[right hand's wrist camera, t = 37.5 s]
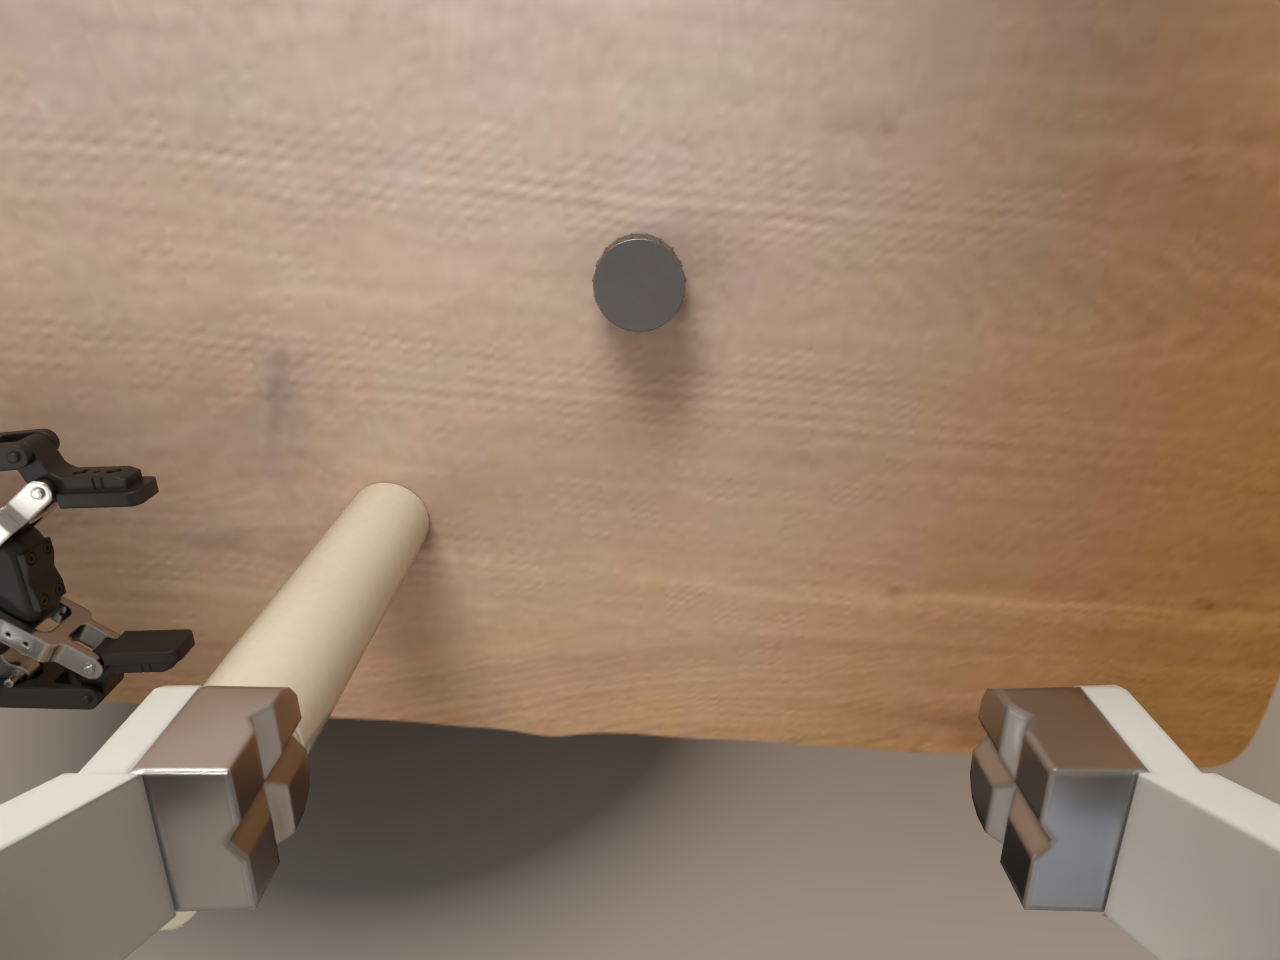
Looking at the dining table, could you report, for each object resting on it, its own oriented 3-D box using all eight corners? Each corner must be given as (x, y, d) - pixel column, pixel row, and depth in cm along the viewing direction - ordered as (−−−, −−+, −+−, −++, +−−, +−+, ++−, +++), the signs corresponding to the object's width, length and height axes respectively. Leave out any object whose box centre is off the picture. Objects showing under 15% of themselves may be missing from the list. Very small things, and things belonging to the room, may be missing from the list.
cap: (626, 340, 46) (625, 350, 44) (576, 265, 44) (573, 272, 42) (700, 292, 45) (703, 300, 43) (652, 214, 44) (652, 218, 41)
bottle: (333, 497, 49) (28, 851, 24) (408, 471, 48) (172, 806, 24) (370, 566, 50) (117, 965, 26) (442, 542, 50) (254, 925, 25)
